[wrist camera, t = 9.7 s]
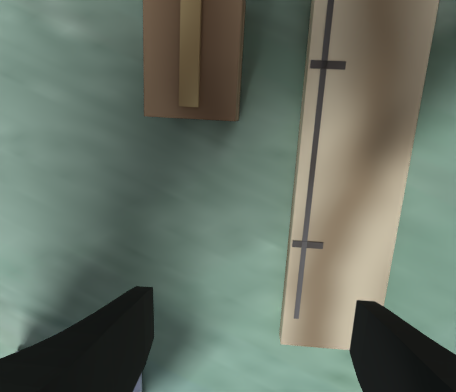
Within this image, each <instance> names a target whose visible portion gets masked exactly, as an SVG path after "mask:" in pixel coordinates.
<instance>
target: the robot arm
mask: <svg viewBox="0 0 456 392" xmlns="http://www.w3.org/2000/svg"><path fill="white" fill-rule="evenodd" d="M153 339H154V314H153V287H140V286H136V287H134V288H132V289H131V290H129V291H127V292H126V293H124V294H123V295H121V296H120V297H118V298H117V299H115V300H114V301H112V302H110V303H109V304H107V305H106V306H104V307H103V308H101V309H100V310H98V311H96V312H95V313H93V314H91V315H90V316H88V317H86V318H85V319H83V320H81V321H80V322H78V323H76V324H74V325H73V326H71V327H69V328H67V329H66V330H64V331H62V332H60V333H58V334H56V335H54V336H52V337H50V338H48V339H46V340H44V341H41V342H39V343H37V344H35V345H33V346H31V347H28V348H26V349H23V350H21V351H17V352H15V353H13V354H11V355H8V356H6V357H3V358H1V359H0V392H142V371H143V369H144V366H145V364H146V361H147V358H148V355H149V352H150V349H151V345H152V342H153ZM350 354H351V358H352V362H353V365H354V369H355V372H356V375H357V378H358V381H359V383H360V386H361V388H362V391H363V392H456V355H455V354H454V353H452V352H450V351H449V350H447V349H446V348H444V347H442V346H441V345H439V344H438V343H436V342H435V341H433V340H432V339H430V338H429V337H427V336H426V335H424V334H423V333H421V332H420V331H418V330H417V329H415V328H414V327H412V326H411V325H410V324H408V323H407V322H405V321H404V320H402V319H401V318H400V317H398V316H397V315H395V314H394V313H392V312H391V311H389V310H388V309H387V308H385V307H384V306H382V305H380V304H379V303H377V302H375V301H363V300H357V301H356V309H355V316H354V323H353V330H352V337H351V344H350Z"/></svg>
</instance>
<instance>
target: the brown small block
mask: <svg viewBox="0 0 456 392" xmlns="http://www.w3.org/2000/svg"><path fill="white" fill-rule="evenodd" d="M245 7H246V3H245V0H143V50H144V116H149V117H167V118H185V119H203V120H221V121H238V120H239V107H240V91H241V74H242V57H243V41H244V24H245Z"/></svg>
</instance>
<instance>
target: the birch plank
mask: <svg viewBox="0 0 456 392" xmlns="http://www.w3.org/2000/svg"><path fill="white" fill-rule="evenodd" d="M438 5H439V0H312V1H311V12H310V22H309V32H308V43H307V53H306V63H305V74H304V84H303V95H302V105H301V115H300V126H299V136H298V146H297V157H296V167H295V177H294V188H293V198H292V208H291V219H290V229H289V239H288V250H287V260H286V270H285V281H284V291H283V301H282V312H281V322H280V333H279V335H280V343H281V344H283V345H295V346H307V347H319V348H331V349H342V350H350V344H351V337H352V330H353V323H354V316H355V309H356V301H357V300H363V301H375V302H377V303H379V304H380V305H382V306H384V301H385V296H386V290H387V285H388V279H389V274H390V268H391V263H392V258H393V252H394V247H395V241H396V236H397V230H398V225H399V219H400V214H401V208H402V203H403V197H404V192H405V186H406V181H407V175H408V170H409V164H410V159H411V153H412V148H413V142H414V137H415V131H416V126H417V120H418V115H419V109H420V104H421V98H422V93H423V87H424V82H425V76H426V71H427V65H428V60H429V55H430V49H431V44H432V38H433V33H434V27H435V22H436V16H437V11H438Z"/></svg>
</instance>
